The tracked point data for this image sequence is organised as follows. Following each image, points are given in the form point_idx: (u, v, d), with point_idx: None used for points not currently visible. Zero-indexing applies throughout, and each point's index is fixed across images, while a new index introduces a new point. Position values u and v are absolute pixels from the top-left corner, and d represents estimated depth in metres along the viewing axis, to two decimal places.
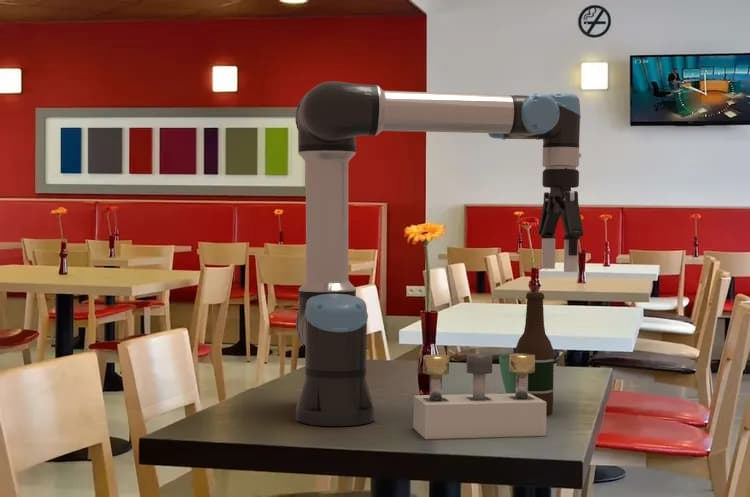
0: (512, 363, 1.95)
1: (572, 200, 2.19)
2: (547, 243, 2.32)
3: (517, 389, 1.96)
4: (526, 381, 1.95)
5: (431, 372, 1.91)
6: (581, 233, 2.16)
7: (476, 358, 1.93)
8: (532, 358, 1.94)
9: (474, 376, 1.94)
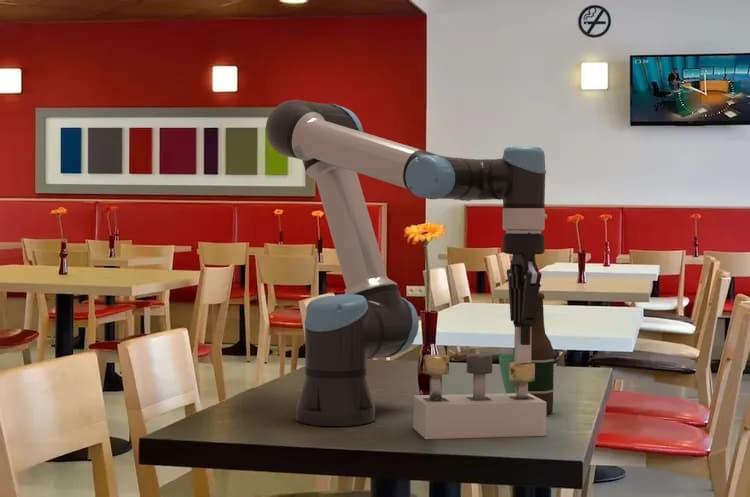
0: (512, 372, 1.95)
1: (533, 283, 1.90)
2: None
3: (517, 397, 1.96)
4: (526, 389, 1.96)
5: (431, 372, 1.91)
6: (533, 322, 1.93)
7: (476, 358, 1.93)
8: (532, 366, 1.95)
9: (474, 376, 1.94)
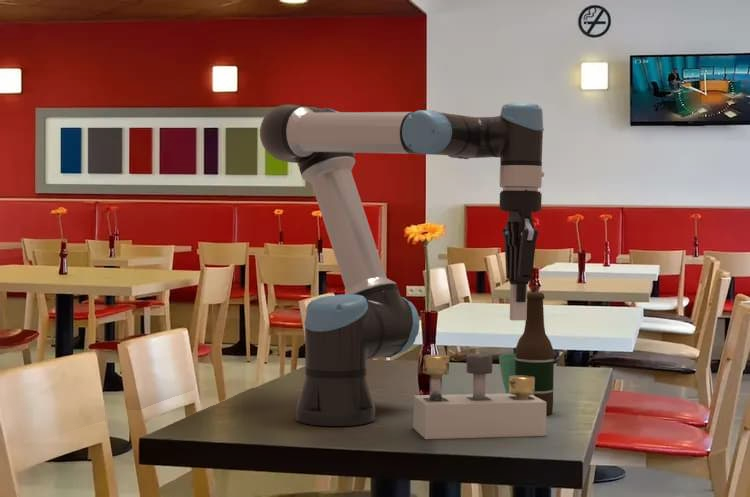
0: (512, 385, 1.95)
1: (529, 239, 1.90)
2: None
3: None
4: None
5: (431, 372, 1.91)
6: (529, 280, 1.92)
7: (476, 358, 1.93)
8: (532, 380, 1.95)
9: (474, 376, 1.94)
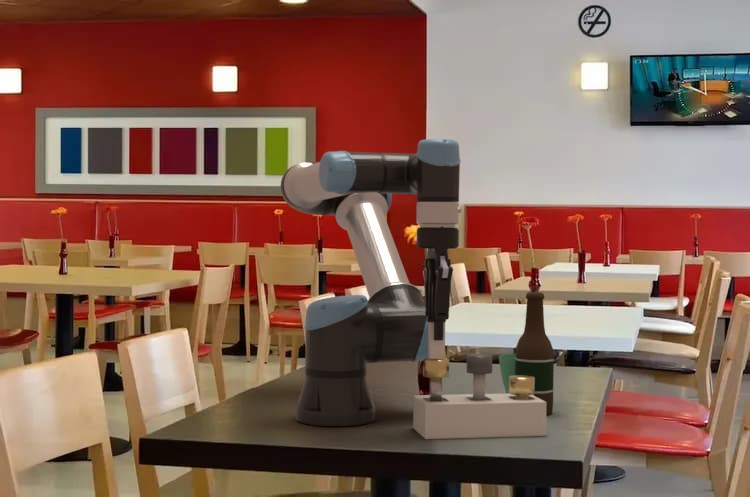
0: (512, 385, 1.95)
1: (444, 277, 1.88)
2: None
3: None
4: None
5: (431, 375, 1.91)
6: (446, 318, 1.90)
7: (476, 358, 1.93)
8: (532, 380, 1.95)
9: (474, 376, 1.94)
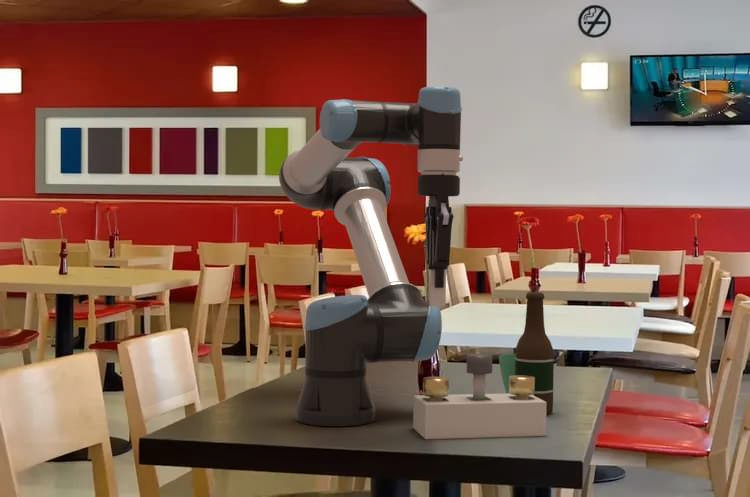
0: (512, 385, 1.95)
1: (445, 224, 1.88)
2: None
3: None
4: None
5: (431, 394, 1.91)
6: (446, 265, 1.90)
7: (476, 358, 1.93)
8: (532, 380, 1.95)
9: (474, 376, 1.94)
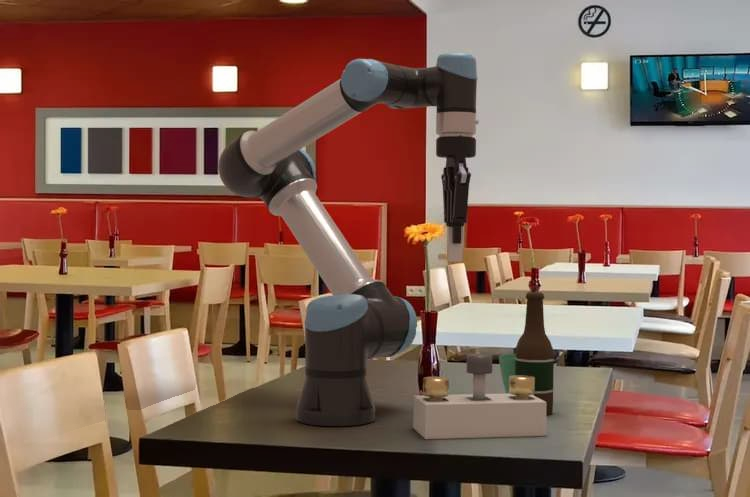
0: (512, 385, 1.95)
1: (463, 182, 1.99)
2: None
3: None
4: None
5: (431, 394, 1.91)
6: (464, 221, 2.01)
7: (476, 358, 1.93)
8: (532, 380, 1.95)
9: (474, 376, 1.94)
